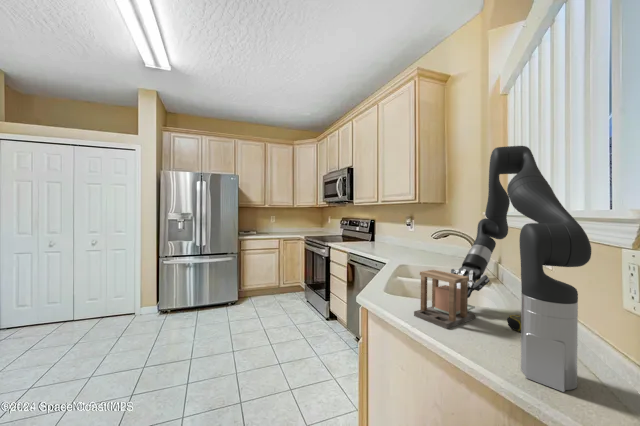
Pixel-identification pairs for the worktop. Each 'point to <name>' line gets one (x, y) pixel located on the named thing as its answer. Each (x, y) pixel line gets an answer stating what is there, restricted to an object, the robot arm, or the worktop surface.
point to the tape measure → (514, 322)
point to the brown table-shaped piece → (452, 317)
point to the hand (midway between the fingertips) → (459, 295)
